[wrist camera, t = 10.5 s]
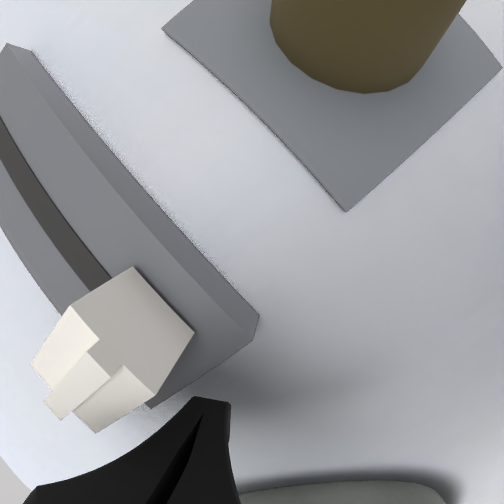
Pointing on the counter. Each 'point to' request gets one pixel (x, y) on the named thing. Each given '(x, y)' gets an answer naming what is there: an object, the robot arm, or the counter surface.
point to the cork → (361, 39)
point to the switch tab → (110, 351)
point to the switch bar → (101, 221)
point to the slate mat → (332, 94)
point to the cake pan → (347, 493)
